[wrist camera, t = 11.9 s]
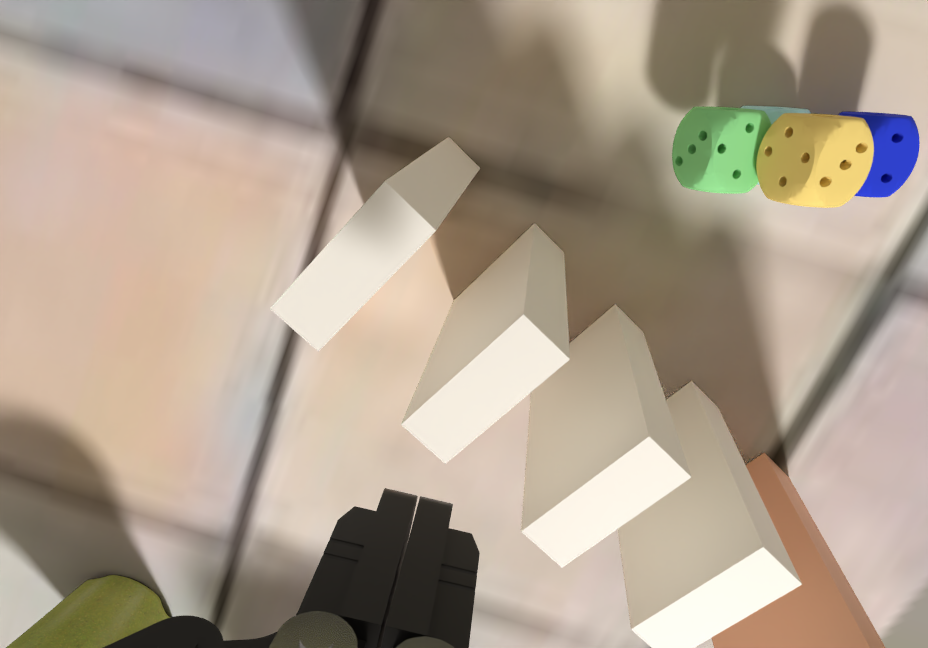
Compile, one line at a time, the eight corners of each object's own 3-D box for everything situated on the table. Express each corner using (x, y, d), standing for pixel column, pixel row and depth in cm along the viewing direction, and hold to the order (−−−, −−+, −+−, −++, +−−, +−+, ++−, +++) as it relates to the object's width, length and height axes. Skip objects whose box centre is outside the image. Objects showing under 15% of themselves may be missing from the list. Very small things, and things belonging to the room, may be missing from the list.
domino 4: (606, 445, 31) (631, 629, 21) (691, 380, 30) (763, 546, 19) (631, 469, 32) (668, 662, 21) (717, 406, 30) (802, 584, 20)
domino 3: (532, 375, 30) (520, 531, 20) (615, 304, 29) (649, 436, 19) (559, 400, 31) (561, 567, 21) (643, 332, 29) (691, 477, 19)
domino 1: (370, 221, 29) (269, 308, 19) (448, 136, 27) (384, 181, 17) (400, 250, 29) (318, 351, 19) (480, 168, 27) (436, 230, 17)
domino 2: (453, 300, 30) (400, 424, 19) (534, 222, 28) (523, 314, 18) (482, 327, 30) (445, 463, 20) (564, 252, 28) (569, 359, 18)
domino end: (676, 511, 32) (733, 718, 22) (764, 452, 30) (869, 648, 20) (701, 534, 32) (768, 750, 22) (789, 477, 31) (905, 683, 21)
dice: (887, 111, 25) (991, 126, 19) (868, 182, 26) (962, 218, 20) (666, 101, 26) (700, 113, 20) (656, 171, 26) (686, 202, 21)
